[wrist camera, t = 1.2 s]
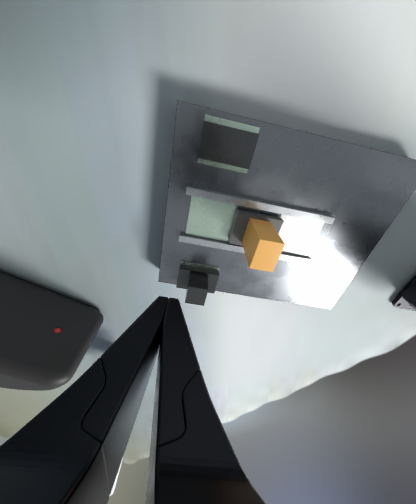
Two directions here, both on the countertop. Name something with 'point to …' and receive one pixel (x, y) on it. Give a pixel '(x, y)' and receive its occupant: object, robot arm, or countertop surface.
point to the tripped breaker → (258, 238)
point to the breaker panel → (274, 206)
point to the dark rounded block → (41, 335)
